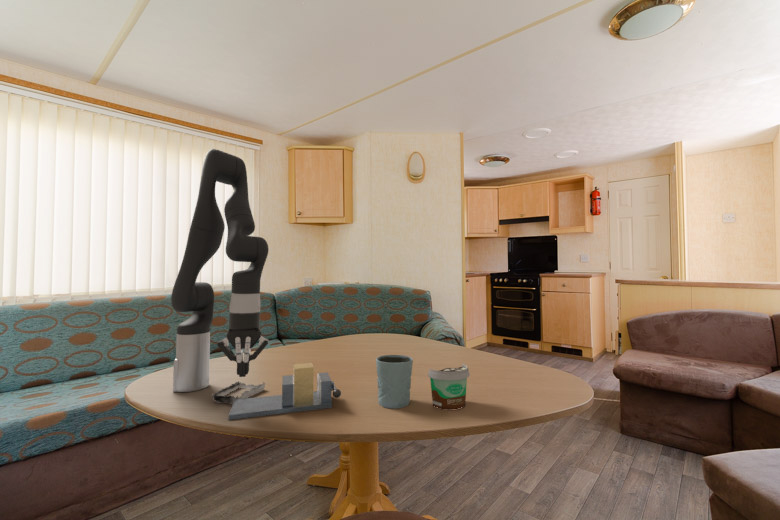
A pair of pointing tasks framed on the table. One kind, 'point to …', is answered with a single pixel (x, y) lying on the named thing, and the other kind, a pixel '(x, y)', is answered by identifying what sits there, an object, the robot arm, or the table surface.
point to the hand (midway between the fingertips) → (242, 376)
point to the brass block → (303, 382)
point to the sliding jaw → (288, 390)
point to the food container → (449, 387)
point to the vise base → (274, 406)
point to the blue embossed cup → (394, 380)
